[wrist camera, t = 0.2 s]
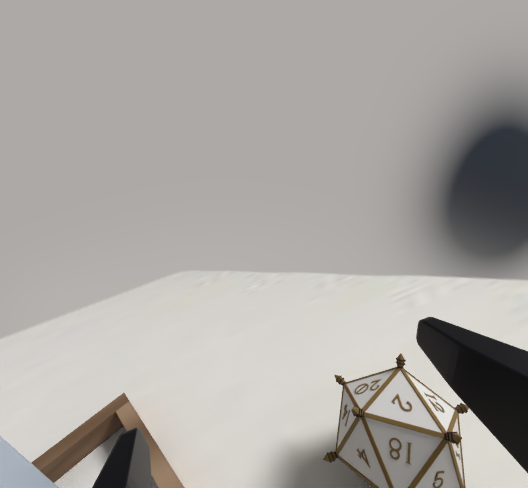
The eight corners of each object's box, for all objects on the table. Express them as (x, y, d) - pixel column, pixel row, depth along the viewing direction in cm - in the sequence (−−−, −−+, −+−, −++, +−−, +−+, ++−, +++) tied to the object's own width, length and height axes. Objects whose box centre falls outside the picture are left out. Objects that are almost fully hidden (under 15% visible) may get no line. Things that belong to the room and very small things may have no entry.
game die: (369, 505, 21) (278, 477, 17) (375, 384, 26) (306, 338, 22) (526, 568, 15) (445, 551, 11) (496, 394, 20) (432, 332, 15)
